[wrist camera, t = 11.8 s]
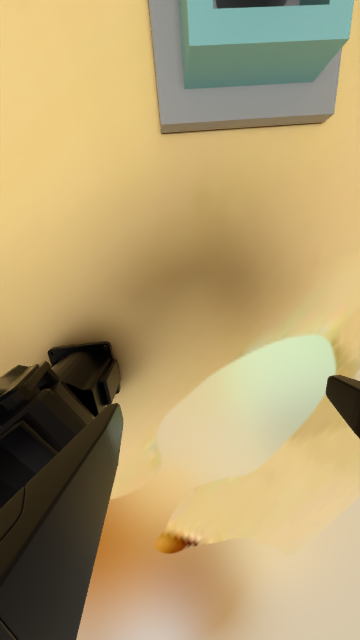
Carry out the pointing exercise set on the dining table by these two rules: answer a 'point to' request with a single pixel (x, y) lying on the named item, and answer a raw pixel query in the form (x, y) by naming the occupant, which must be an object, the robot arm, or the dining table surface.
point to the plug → (248, 3)
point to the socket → (247, 62)
